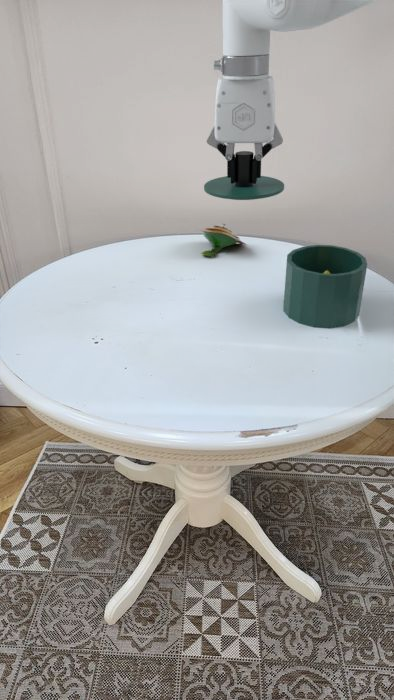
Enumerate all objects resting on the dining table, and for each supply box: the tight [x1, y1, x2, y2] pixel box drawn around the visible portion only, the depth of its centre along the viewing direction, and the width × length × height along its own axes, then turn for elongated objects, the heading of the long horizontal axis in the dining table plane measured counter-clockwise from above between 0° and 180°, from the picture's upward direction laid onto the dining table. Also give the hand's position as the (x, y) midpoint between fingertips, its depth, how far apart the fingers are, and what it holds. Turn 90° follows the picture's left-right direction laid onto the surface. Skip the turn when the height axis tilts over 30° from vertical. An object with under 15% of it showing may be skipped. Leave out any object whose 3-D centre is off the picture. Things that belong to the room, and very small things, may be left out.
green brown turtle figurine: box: [193, 223, 248, 258], centre depth 123 cm, size 15×13×8 cm
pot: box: [282, 244, 368, 329], centre depth 96 cm, size 14×14×10 cm
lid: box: [203, 150, 285, 201], centre depth 96 cm, size 15×15×7 cm
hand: (244, 180), depth 97 cm, fingers closed on lid, 3 cm apart
